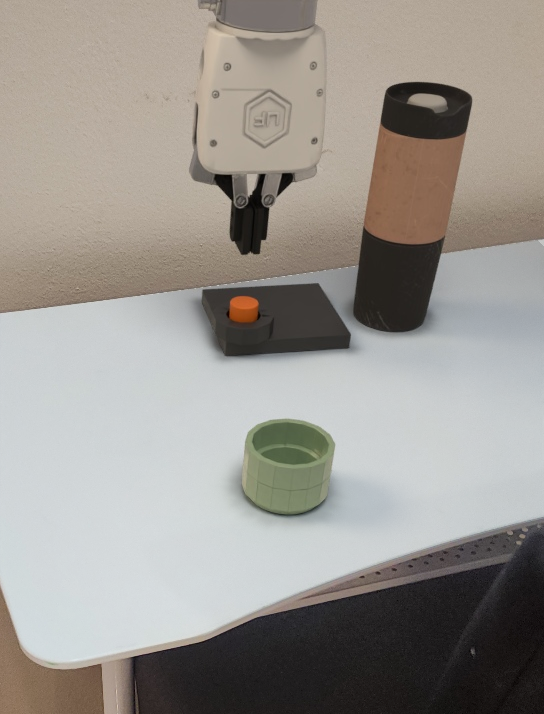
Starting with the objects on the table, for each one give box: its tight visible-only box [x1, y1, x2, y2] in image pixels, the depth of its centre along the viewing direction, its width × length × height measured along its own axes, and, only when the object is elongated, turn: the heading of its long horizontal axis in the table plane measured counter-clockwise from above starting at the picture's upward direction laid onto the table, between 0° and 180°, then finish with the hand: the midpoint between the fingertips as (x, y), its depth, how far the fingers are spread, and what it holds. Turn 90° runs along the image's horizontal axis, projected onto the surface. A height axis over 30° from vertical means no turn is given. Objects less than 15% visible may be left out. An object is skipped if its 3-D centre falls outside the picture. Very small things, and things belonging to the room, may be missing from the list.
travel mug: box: [352, 81, 473, 333], centre depth 92 cm, size 8×8×20 cm
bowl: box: [241, 418, 336, 515], centre depth 75 cm, size 7×7×4 cm
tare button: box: [229, 296, 259, 323], centre depth 91 cm, size 3×3×2 cm
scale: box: [201, 282, 352, 357], centre depth 96 cm, size 13×12×3 cm
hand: (246, 247), depth 87 cm, fingers closed
